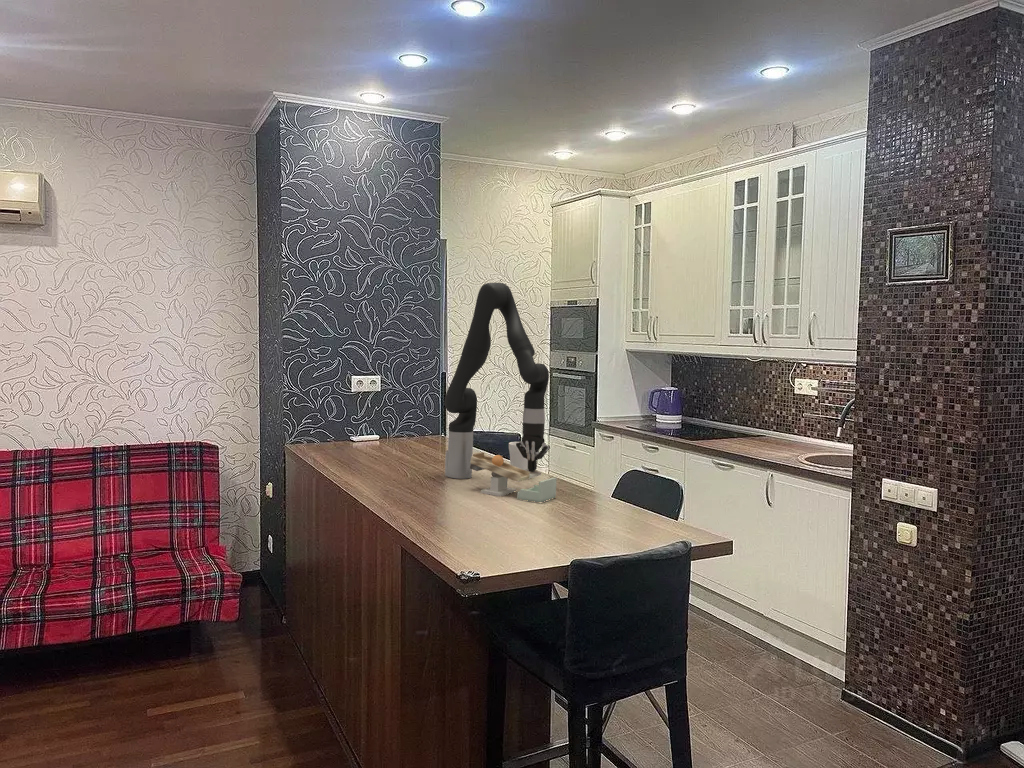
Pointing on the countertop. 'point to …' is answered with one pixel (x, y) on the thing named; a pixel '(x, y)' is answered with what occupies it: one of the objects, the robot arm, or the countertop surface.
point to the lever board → (501, 468)
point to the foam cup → (517, 457)
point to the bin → (539, 491)
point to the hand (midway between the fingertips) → (532, 470)
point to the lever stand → (498, 486)
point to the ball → (497, 460)
